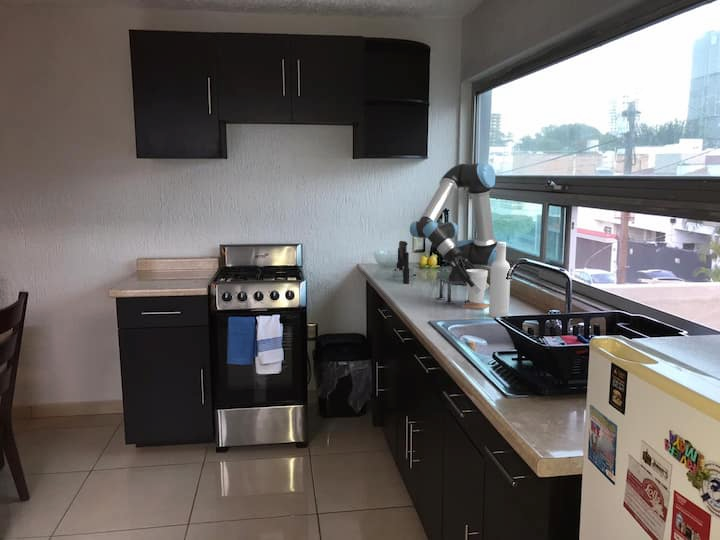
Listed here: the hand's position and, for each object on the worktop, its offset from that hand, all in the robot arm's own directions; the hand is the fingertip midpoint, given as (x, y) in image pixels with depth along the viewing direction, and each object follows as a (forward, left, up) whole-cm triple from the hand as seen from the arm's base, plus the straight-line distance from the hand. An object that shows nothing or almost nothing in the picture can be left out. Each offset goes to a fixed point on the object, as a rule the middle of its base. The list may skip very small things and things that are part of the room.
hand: (483, 290), depth 250 cm
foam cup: (0, -3, -5) cm, 6 cm away
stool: (-46, -63, -8) cm, 78 cm away
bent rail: (-5, -16, -8) cm, 19 cm away
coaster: (0, -3, -8) cm, 8 cm away
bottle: (+11, +11, -8) cm, 18 cm away
